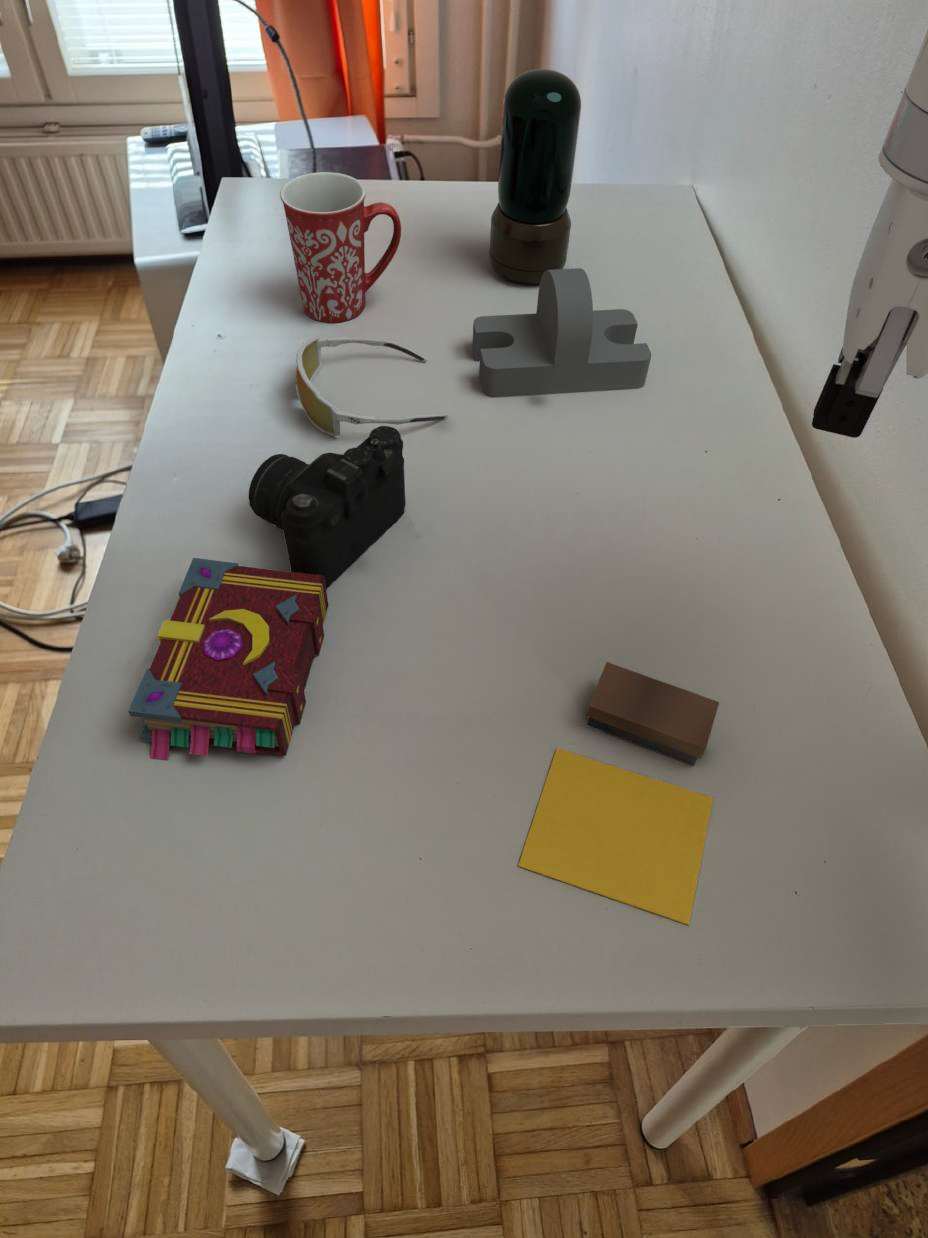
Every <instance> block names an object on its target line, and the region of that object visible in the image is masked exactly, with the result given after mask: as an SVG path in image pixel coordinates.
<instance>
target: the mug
mask: <svg viewBox="0 0 928 1238" xmlns="http://www.w3.org/2000/svg"><path fill="white" fill-rule="evenodd" d="M366 195H367V191H366V188H365V186H364V185H363V183H362V182H361V181H360V180H358V179H357V178H355V177H353V176H351V175H348V174H345V173H340V172H333V171H319V172H310V173H306V174H302V175H298V176H296V177H293V178H292V179H290V180H289V181H287V182H285V184H284V185H282V187H281V189H280V191H279V199H280V200H281V202H282V204H283V209H284V214H285V220H286V226H287V230H288V235H289V241H290V245H291V250H292V255H293V262H294V266H295V271H296V276H297V282H298V286H299V292H300V298H301V303H302V308H303V311H304V313H305V314H306V315H307V316H309V317H310V318H311V319H313V320H316V321H318V322H323V323H329V324H330V323H331V324H332V323H333V324H335V323H343V322H346V321H350V320H352V319H354V318H357V317H358V316H359V315H360V314H361V313H363V311H364V310H365V307H366V293H367V292H368V291H369V290H370V288H371V287H372V286H373V285H374V284H375V283H376V281H377V280H379V278H380V277H381V275H383V273H384V272H385V270H387V268H388V267H389V265H390V263H391V262H392V260H393V259H394V256H395V255H396V253H397V251H398V248H399V246H400V242H401V237H402V223H401V219H400V216H399V213H398V211H397V210H396V209H395V207H394V206H392V205H391V204H389V203H387V202H374V203H371V204H369V205H366V206H365V199H366ZM380 215H385V216H388V217H389V218H390V219H391V221H392V224H393V225H392V226H393V233H392V237H391V240H390V243H389V245H388V246H387V247H386V250H385V252H384V254H383V255H382V256H381V257H380V259H379V260H378V262H377V263H376V265H374V267H373V268H372V269H371V270H370V271H369V272H365V271H366V269H365V267H366V266H365V265H366V263H365V261H366V260H365V257H366V255H365V234H366V232H368V230H369V228H370V225H371V222H372V221H373V220H374V219H375V218H376V217H377V216H380Z"/></svg>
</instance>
